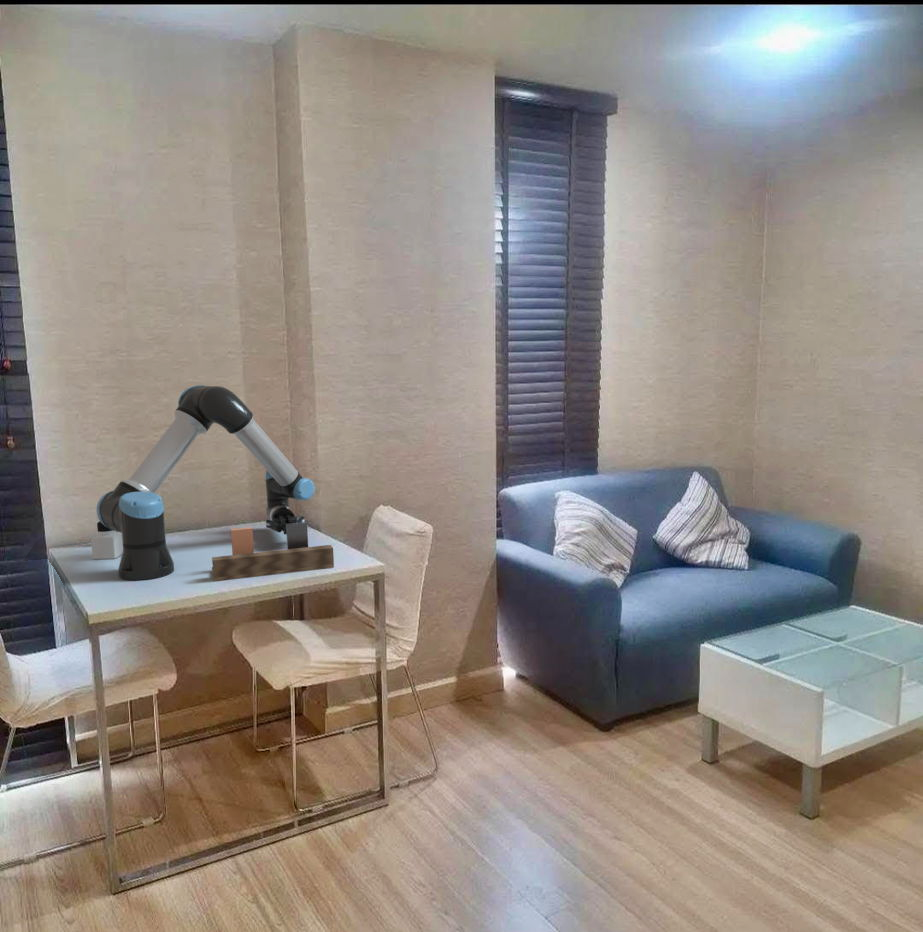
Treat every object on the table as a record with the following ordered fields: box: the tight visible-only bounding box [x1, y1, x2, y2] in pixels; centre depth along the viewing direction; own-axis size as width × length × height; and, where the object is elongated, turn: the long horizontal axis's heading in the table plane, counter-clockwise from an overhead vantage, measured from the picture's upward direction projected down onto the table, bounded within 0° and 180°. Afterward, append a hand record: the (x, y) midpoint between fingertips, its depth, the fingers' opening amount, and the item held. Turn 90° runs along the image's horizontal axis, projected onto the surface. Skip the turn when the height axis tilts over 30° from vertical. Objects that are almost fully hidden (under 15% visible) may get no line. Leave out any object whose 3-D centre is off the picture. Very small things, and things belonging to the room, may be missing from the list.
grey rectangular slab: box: [285, 521, 309, 549], centre depth 234 cm, size 6×2×11 cm, turn 111°
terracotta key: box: [230, 526, 255, 555], centre depth 229 cm, size 6×2×11 cm, turn 111°
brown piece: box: [211, 544, 335, 582], centre depth 229 cm, size 34×12×6 cm, turn 111°
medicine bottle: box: [90, 519, 123, 560], centre depth 247 cm, size 7×7×12 cm
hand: (292, 532), depth 244 cm, fingers closed
